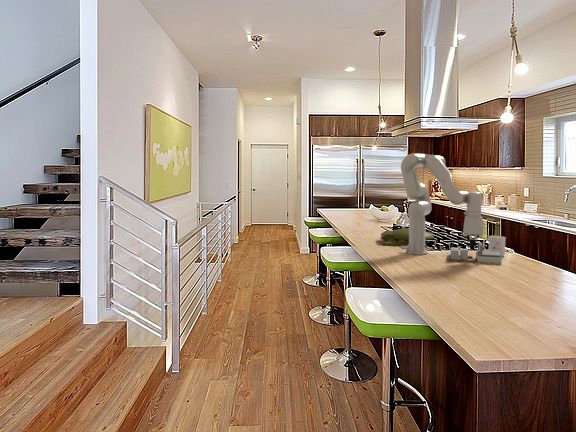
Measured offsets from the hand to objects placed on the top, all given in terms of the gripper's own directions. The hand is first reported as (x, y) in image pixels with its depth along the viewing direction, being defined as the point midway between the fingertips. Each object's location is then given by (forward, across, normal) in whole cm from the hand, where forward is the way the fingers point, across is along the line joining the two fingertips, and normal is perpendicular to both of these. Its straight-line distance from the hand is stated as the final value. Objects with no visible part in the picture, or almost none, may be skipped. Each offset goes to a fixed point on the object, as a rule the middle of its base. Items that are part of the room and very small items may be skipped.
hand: (472, 246), depth 273 cm
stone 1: (+8, -9, +2) cm, 12 cm away
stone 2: (+8, -10, -3) cm, 13 cm away
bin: (+8, +8, 0) cm, 12 cm away
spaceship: (+8, -38, +51) cm, 64 cm away
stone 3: (+8, -4, 0) cm, 9 cm away
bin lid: (+4, +9, 0) cm, 9 cm away
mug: (+8, +13, +18) cm, 24 cm away
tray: (+8, -6, 0) cm, 10 cm away
